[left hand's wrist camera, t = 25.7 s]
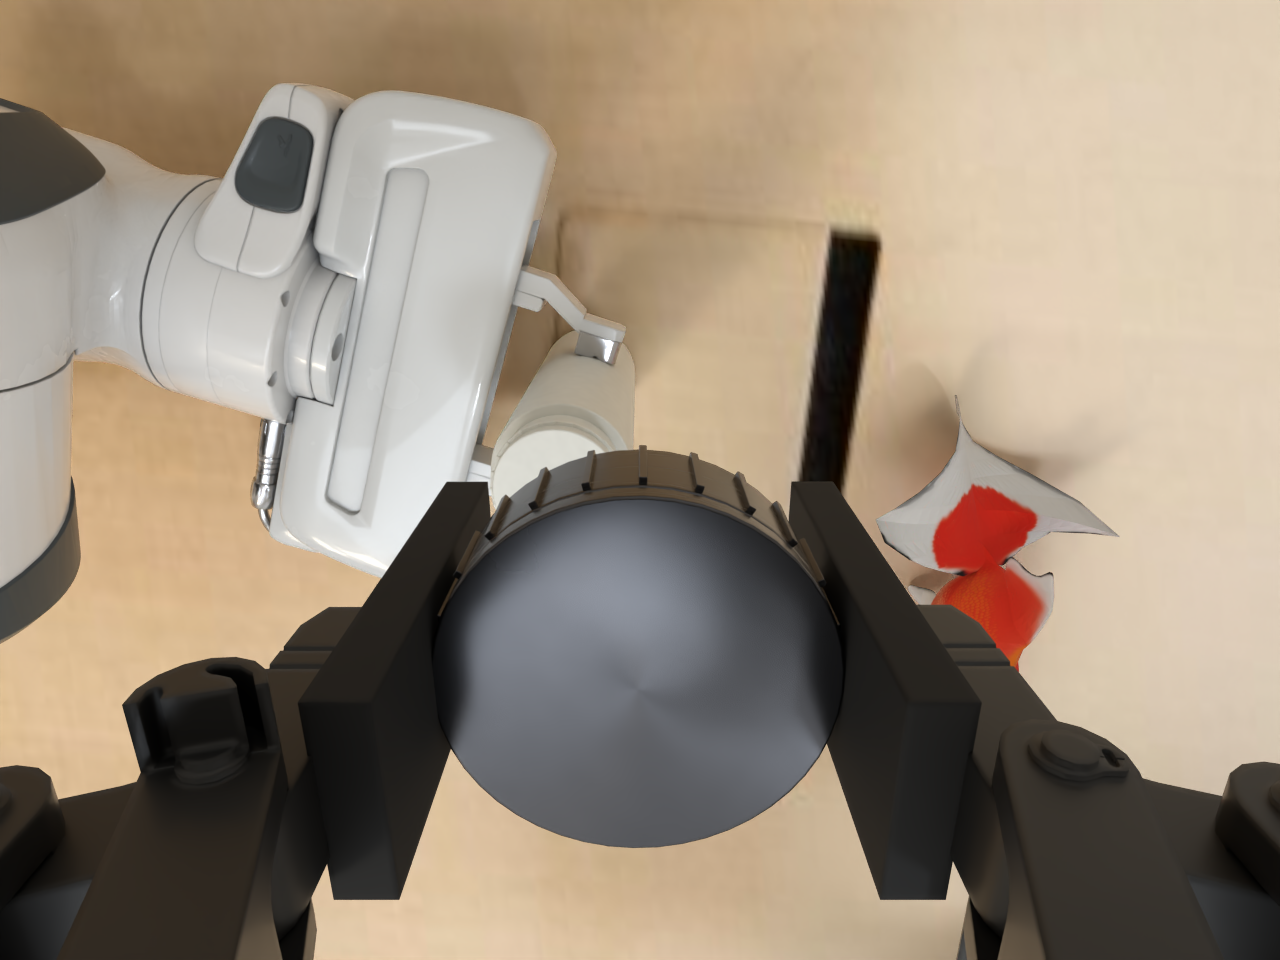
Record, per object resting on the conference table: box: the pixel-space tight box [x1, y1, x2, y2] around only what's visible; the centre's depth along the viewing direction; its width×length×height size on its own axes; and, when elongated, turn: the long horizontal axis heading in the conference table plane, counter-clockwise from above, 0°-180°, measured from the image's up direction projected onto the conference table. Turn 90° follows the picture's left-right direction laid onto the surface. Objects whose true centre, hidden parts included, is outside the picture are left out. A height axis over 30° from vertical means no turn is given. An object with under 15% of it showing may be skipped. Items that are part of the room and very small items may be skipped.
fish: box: [876, 395, 1119, 672], centre depth 38 cm, size 11×16×10 cm
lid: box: [431, 445, 845, 848], centre depth 11 cm, size 6×6×2 cm
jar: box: [490, 330, 635, 509], centre depth 31 cm, size 5×5×17 cm
